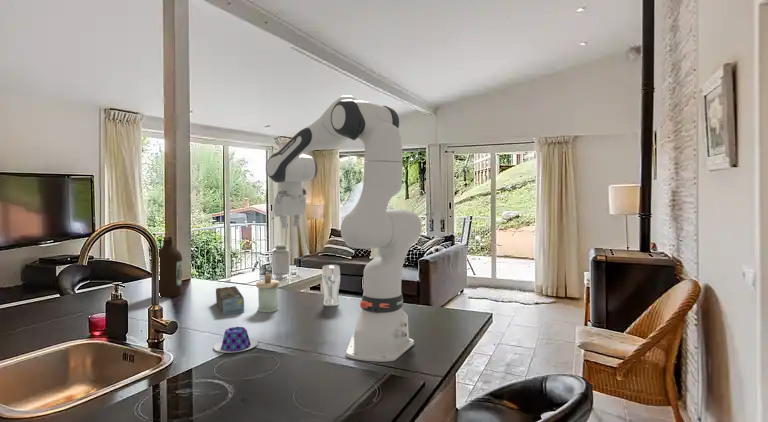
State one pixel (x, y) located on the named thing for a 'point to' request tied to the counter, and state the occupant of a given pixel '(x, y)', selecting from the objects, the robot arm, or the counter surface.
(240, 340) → the purple patterned hat
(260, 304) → the canister
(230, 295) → the beverage carton
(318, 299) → the counter surface
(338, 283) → the beer glass
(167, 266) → the olive oil
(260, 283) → the lid
